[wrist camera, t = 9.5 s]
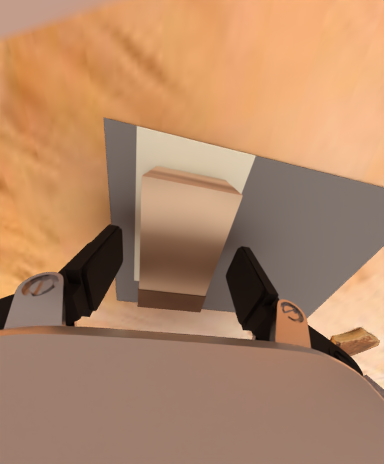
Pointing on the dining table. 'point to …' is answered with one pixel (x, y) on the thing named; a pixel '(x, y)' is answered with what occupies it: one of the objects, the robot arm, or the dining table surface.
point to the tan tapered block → (182, 236)
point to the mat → (252, 215)
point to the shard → (355, 341)
